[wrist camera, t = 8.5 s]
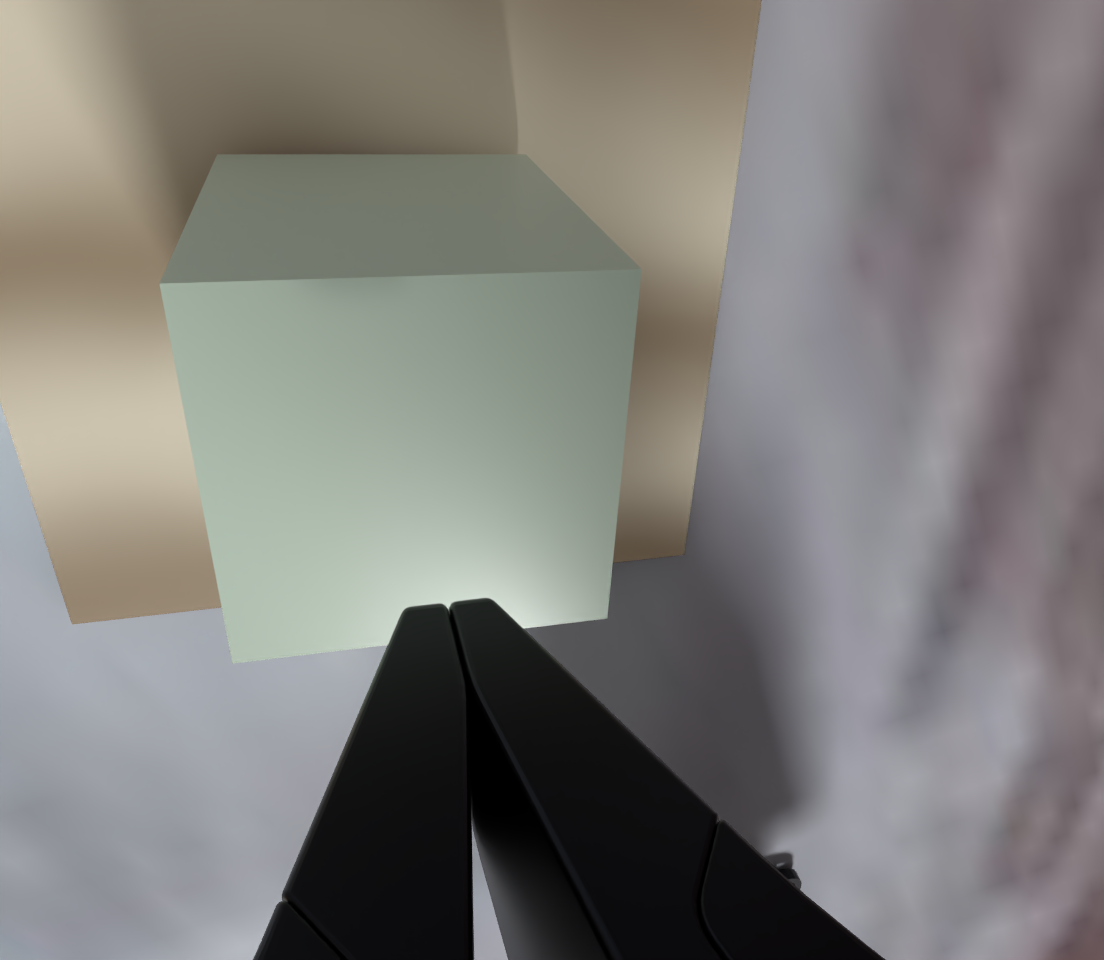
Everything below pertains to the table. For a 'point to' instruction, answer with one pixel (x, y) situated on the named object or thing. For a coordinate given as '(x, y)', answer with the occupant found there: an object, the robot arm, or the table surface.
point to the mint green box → (399, 392)
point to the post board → (329, 128)
